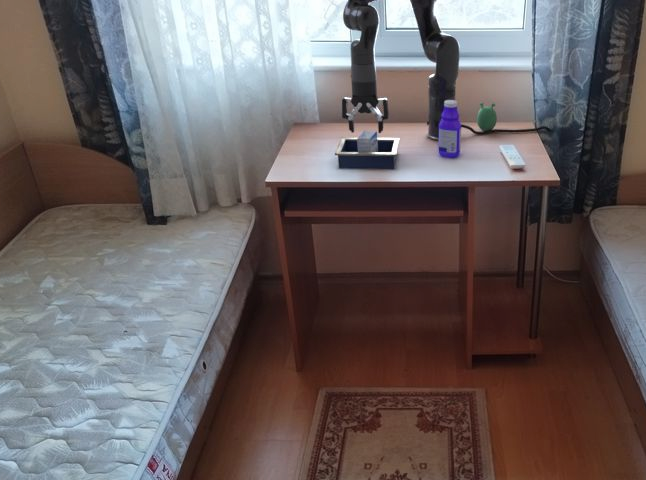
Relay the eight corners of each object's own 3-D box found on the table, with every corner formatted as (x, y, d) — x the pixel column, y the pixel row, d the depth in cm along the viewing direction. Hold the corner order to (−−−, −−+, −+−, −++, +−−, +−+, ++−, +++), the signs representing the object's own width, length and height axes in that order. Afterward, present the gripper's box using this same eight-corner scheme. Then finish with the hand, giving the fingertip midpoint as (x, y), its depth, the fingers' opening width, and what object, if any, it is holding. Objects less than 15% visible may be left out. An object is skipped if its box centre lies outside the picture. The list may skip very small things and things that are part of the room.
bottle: (462, 154, 220) (464, 100, 210) (457, 159, 216) (458, 105, 206) (441, 151, 222) (442, 97, 212) (436, 157, 218) (436, 102, 208)
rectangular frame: (399, 153, 221) (399, 138, 218) (396, 170, 209) (395, 154, 206) (342, 152, 221) (341, 137, 218) (336, 169, 209) (334, 153, 206)
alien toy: (495, 127, 243) (496, 99, 237) (496, 134, 237) (498, 105, 231) (475, 127, 243) (476, 99, 237) (477, 134, 237) (478, 105, 231)
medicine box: (372, 166, 211) (370, 139, 206) (358, 165, 212) (356, 138, 207) (378, 157, 218) (377, 130, 213) (365, 156, 218) (364, 130, 213)
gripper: (388, 75, 203) (389, 129, 212) (341, 74, 203) (345, 127, 213) (386, 81, 197) (387, 136, 206) (338, 80, 197) (342, 135, 206)
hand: (366, 132), depth 209 cm, fingers open, 8 cm apart
